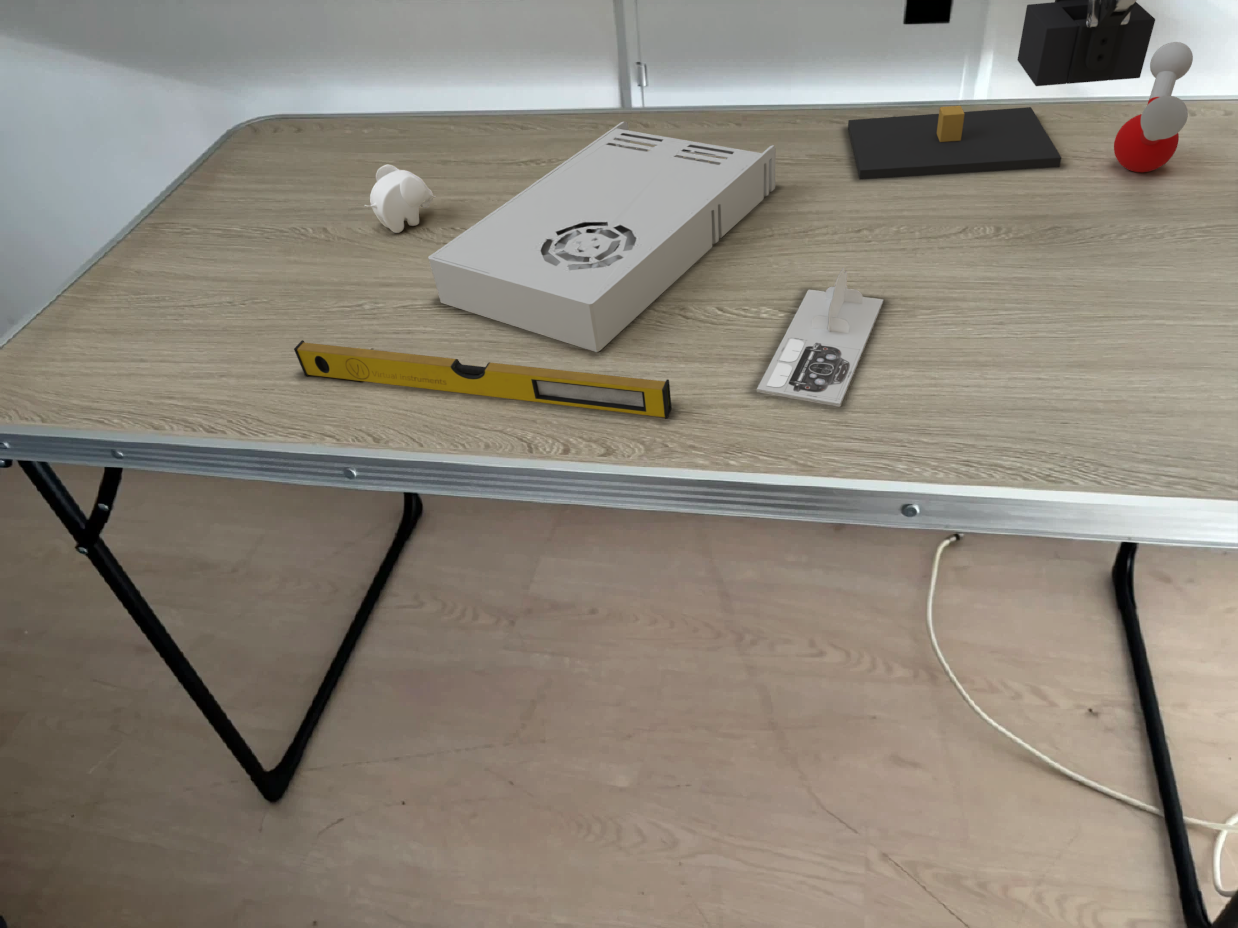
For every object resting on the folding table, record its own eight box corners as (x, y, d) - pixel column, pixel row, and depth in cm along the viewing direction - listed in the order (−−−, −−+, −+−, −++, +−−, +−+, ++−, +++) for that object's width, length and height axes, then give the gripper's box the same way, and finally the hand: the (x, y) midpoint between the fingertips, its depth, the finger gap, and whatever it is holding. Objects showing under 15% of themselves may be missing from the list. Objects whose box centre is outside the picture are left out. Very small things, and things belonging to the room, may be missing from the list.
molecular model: (1163, 213, 86) (1197, 107, 80) (1098, 206, 88) (1125, 102, 82) (1174, 135, 97) (1204, 36, 91) (1116, 130, 100) (1141, 33, 93)
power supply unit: (776, 189, 98) (776, 143, 95) (598, 354, 79) (591, 304, 76) (629, 161, 107) (624, 119, 104) (439, 303, 88) (426, 257, 85)
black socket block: (1115, 51, 78) (1129, -6, 75) (1140, 78, 74) (1156, 18, 71) (1017, 60, 79) (1026, 4, 76) (1035, 86, 75) (1046, 28, 72)
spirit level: (305, 376, 82) (293, 348, 80) (313, 367, 83) (301, 339, 81) (667, 420, 72) (664, 389, 70) (672, 409, 73) (669, 379, 71)
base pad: (1029, 117, 104) (1036, 79, 102) (1059, 168, 95) (1068, 128, 92) (847, 129, 107) (849, 93, 104) (859, 180, 98) (862, 142, 95)
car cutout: (808, 293, 83) (809, 248, 80) (883, 303, 80) (887, 257, 77) (756, 393, 73) (756, 346, 70) (840, 408, 71) (843, 361, 68)
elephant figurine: (452, 219, 101) (440, 167, 97) (388, 247, 98) (372, 195, 94) (422, 200, 105) (409, 150, 101) (360, 227, 102) (344, 176, 98)
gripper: (1249, -193, 57) (1165, 97, 69) (1150, -229, 70) (1093, 22, 82) (1121, -179, 58) (1060, 106, 70) (1046, -217, 71) (1005, 30, 83)
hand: (1078, 58), depth 76 cm, fingers closed on black socket block, 6 cm apart
